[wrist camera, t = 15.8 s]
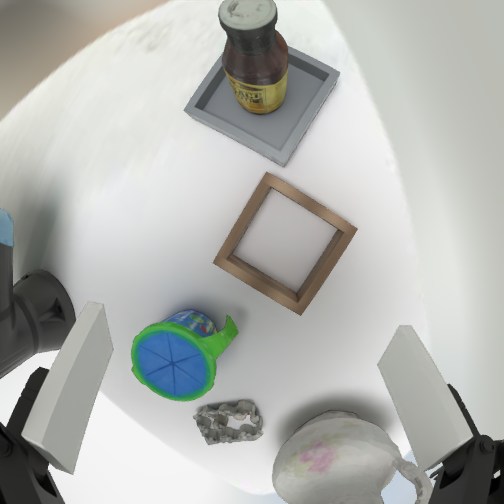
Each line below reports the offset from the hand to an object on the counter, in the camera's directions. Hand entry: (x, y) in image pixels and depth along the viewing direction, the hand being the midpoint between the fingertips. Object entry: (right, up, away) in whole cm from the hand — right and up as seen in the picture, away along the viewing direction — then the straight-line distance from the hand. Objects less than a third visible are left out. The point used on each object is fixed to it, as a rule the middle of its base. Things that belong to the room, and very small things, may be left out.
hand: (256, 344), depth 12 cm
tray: (+1, +24, +23) cm, 33 cm away
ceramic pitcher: (+14, -27, +30) cm, 43 cm away
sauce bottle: (+1, +24, +22) cm, 32 cm away
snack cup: (-9, -8, +29) cm, 32 cm away
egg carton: (-4, -24, +32) cm, 40 cm away
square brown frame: (+4, +5, +26) cm, 26 cm away
